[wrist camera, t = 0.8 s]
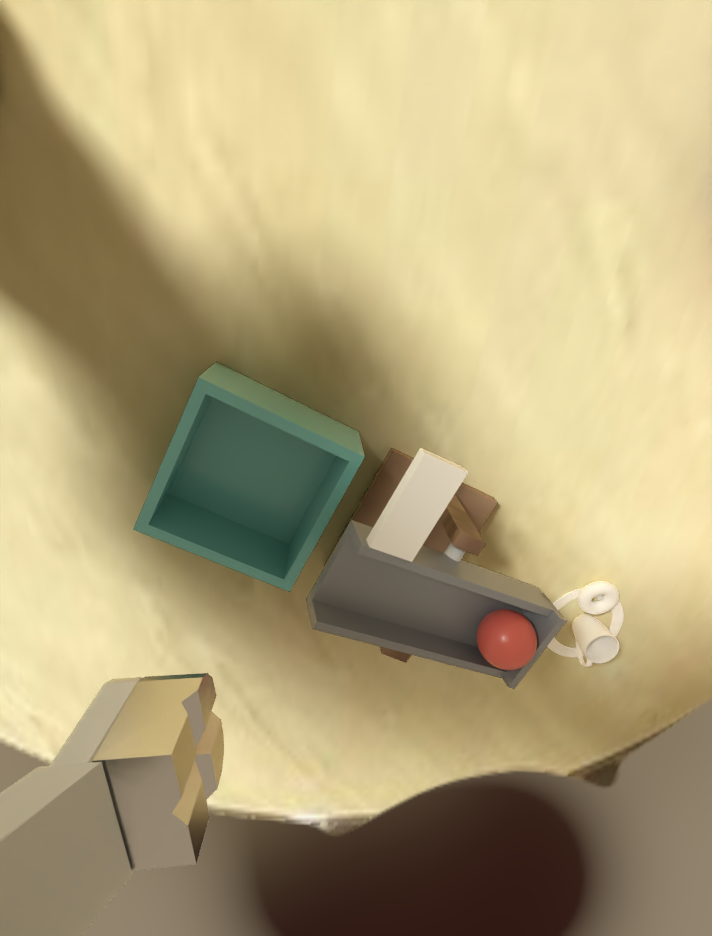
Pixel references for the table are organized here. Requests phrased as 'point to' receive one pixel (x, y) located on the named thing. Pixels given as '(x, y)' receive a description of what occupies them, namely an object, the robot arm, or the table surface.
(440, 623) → the tilting lever
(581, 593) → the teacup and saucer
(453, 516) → the lever stand
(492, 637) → the ball
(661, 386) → the table surface
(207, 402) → the cup
